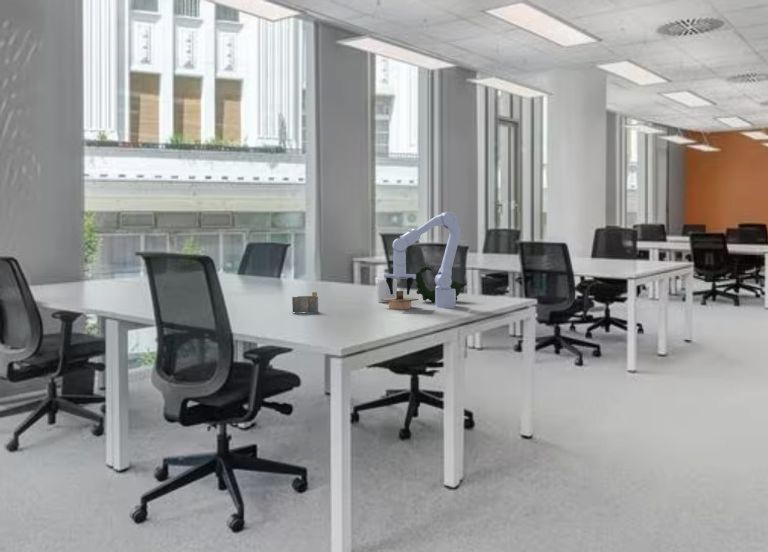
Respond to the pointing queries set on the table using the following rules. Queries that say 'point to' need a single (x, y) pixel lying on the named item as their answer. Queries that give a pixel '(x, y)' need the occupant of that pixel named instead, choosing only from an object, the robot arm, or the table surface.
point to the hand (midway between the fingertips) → (399, 294)
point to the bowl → (400, 305)
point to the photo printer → (386, 290)
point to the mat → (418, 311)
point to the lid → (399, 298)
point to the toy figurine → (431, 292)
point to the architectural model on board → (305, 303)
